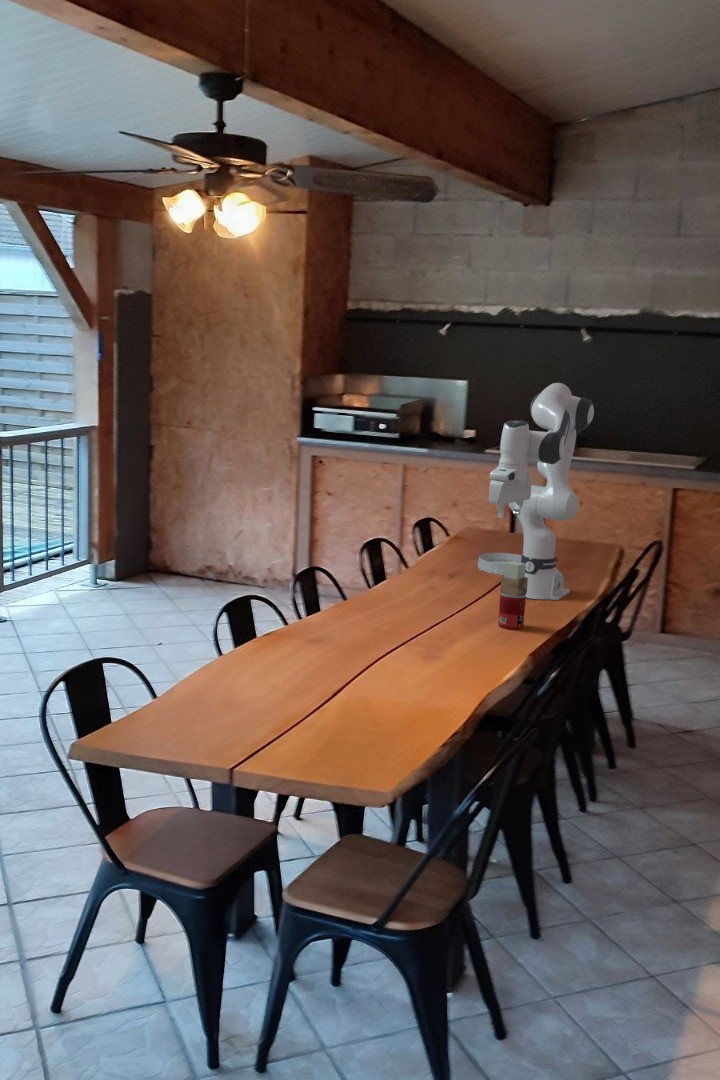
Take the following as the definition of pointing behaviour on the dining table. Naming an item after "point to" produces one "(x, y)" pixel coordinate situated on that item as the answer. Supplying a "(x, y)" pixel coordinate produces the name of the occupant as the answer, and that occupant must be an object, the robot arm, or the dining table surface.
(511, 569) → the sage cube
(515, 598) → the canned food
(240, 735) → the dining table surface
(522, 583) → the walnut block
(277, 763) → the dining table surface
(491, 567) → the dish
